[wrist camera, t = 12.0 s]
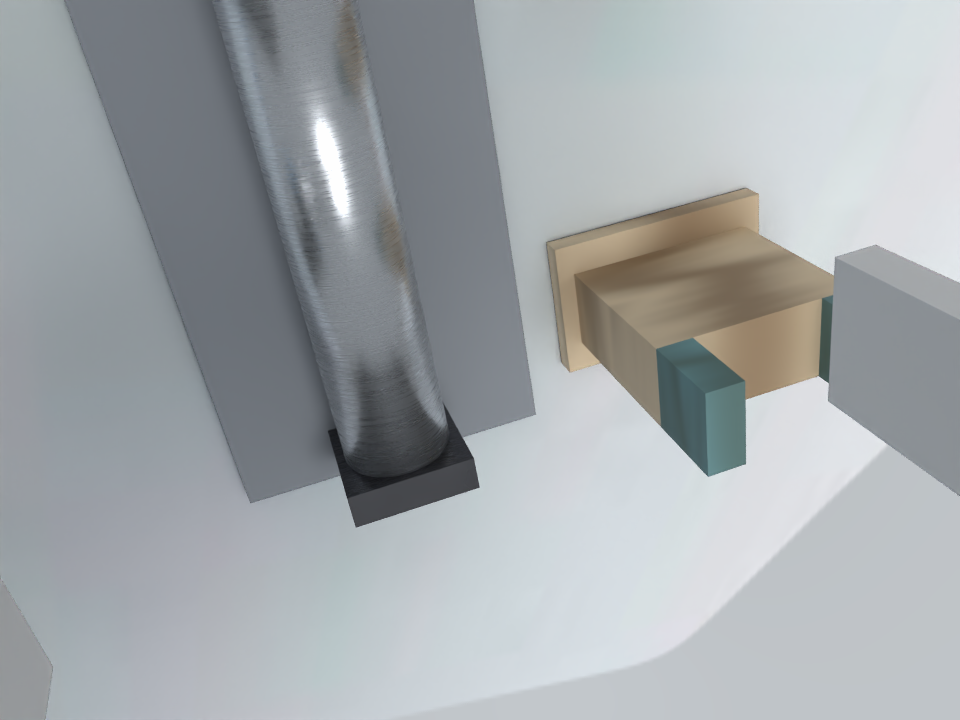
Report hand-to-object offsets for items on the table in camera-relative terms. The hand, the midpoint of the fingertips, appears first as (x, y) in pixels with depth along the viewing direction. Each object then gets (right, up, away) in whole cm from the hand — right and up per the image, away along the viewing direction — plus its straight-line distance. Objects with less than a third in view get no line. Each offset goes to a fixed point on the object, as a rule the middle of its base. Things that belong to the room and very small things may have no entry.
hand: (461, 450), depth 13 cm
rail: (-5, +7, +14) cm, 16 cm away
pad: (-5, +7, +14) cm, 17 cm away
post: (+7, +4, +20) cm, 21 cm away
